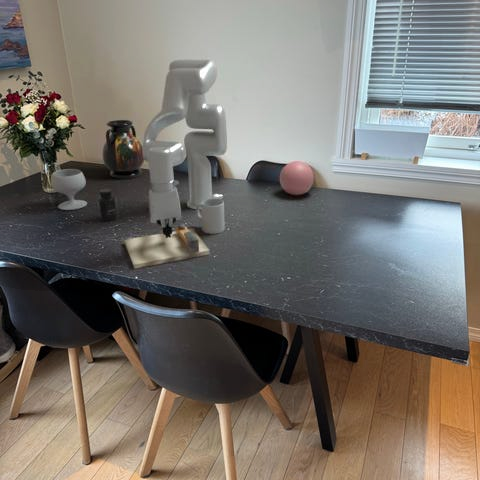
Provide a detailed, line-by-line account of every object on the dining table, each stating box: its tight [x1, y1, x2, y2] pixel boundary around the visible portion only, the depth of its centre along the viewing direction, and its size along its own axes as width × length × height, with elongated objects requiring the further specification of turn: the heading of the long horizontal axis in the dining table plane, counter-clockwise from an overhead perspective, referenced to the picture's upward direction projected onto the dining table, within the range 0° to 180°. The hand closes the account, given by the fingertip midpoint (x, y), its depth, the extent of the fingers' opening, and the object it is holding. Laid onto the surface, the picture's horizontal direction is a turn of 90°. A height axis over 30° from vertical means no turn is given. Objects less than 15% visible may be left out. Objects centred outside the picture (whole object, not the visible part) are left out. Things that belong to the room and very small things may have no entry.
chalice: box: [50, 168, 88, 211], centre depth 184 cm, size 14×14×15 cm
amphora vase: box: [102, 119, 145, 180], centre depth 223 cm, size 22×22×28 cm
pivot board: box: [123, 223, 211, 269], centre depth 146 cm, size 25×20×6 cm
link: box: [175, 226, 188, 246], centre depth 150 cm, size 14×4×2 cm, turn 24°
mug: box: [195, 199, 226, 235], centre depth 160 cm, size 12×8×11 cm
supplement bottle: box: [97, 188, 119, 222], centre depth 170 cm, size 7×7×12 cm
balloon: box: [279, 160, 315, 196], centre depth 196 cm, size 15×20×15 cm
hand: (167, 236), depth 147 cm, fingers closed
